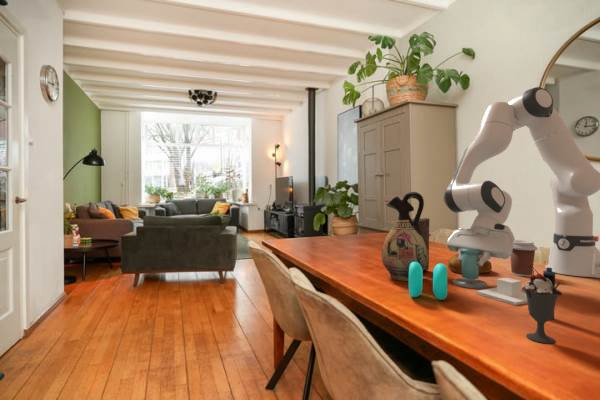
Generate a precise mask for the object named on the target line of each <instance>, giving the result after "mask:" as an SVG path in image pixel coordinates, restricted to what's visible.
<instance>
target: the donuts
mask: <svg viewBox="0 0 600 400" xmlns="http://www.w3.org/2000/svg"><path fill="white" fill-rule="evenodd" d="M423 272H424V271H423V270H422V267H421V265H420V264H419V263H418V262H412V263H411V264H410V266H409V281H408V293H409V295H410V296H411V297H412V298H418V297H420V295H421V294H422V292H423V286H424V285H423V283H424V282H423V280H424V278H423V277H424V276H423V275H424V274H423ZM432 273H433V275H432V292H433V295H434V296H435V298H436V299H438V300H440V301H442V300H445V299H446V298H447V296H448V266H447V265H446V264H444V263H437V264H436V265H435V266H434V267H433V271H432Z"/></svg>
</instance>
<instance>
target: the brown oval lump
mask: <svg viewBox="0 0 600 400" xmlns="http://www.w3.org/2000/svg"><path fill="white" fill-rule="evenodd" d="M458 257H459V253H455V254H454V255H453V256H451V257H450V259H449V260H448V266H447V269H449V270H450V271H452V272H453V273H456V274H462V263H460V262H458V260H457V259H458ZM481 257H483V256H482V255H479V257H478V258H481ZM491 270H492V262H491V261H490V260H487V261H486V262H484V264H483V266H478V274H485V273H486V274H487V273H489V272H490V271H491Z"/></svg>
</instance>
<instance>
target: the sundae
mask: <svg viewBox="0 0 600 400" xmlns="http://www.w3.org/2000/svg"><path fill="white" fill-rule="evenodd" d="M528 266H529V267H530V268H531V267H532V265H528ZM532 268H533V269H532ZM532 268H531V269H532V270H533V272H532V275H531V276H530V277H529V280H528V281H526V282H525V285H524V286H522V290H523V292H526V296H527V302H528V303H527V308H528V313H529V315H530V317H531V318H532V319H533V320H535V322H536V330H535V332H530V333H527V334H526V335H525V336H526V338H527V339H529V340H530V341H532V342H536V343H540V344H547V345H549V344H554V343H556V340H555V339H554V338H553V337H552V336H549V335H548V334H546V332H545V324H546V323H547V322H550V320H553V319H552V317H553V314H554V315H555V308H556V301H557V299H558V297H559V296H562V295H563V292H561V291H560V290H559V289H558V287H559V286H560V284H561V282H560V281H559V282H558V283H557V284H555V288H553V285H552V282H551V281H550V280H549V279H548V278H546V277H543V274H542V273H539V272H538V270H536V269H535V268H534V266H533V267H532ZM534 271H535V272H536V273H537V274H536V275H534V274H535V272H534Z"/></svg>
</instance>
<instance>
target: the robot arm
mask: <svg viewBox="0 0 600 400" xmlns="http://www.w3.org/2000/svg"><path fill="white" fill-rule="evenodd" d="M523 127H527V128H528V129H529V132H530V136H531V138H532V140H533V142H534V144H535V146H536V148H537V150H538V152H539V154H540V156H541V158H542V160H543V161H544V162H545V164H547V165H548V167H549V168H550V170H551V171H552V172H553V173H554V174H553V175H552V177H551V179H550V181H549V182H550V183H549V185H550V188H551V192H552V200H553V207H554V215H555V216H554V217H555V218H554V219H555V221H554V225H555V226H554V234H553V237H552V239H553V240H552V242H553V245H552V246H551V247H550V248H549V257H548V264H545V267H544V268H545V269H547V268H552V272H555V274H561V275H565V276H566V275H567V276H573V277H584V278H585V277H586V278H587V277H588V278H595V279H596V278H597V279H600V249H598V248H597V247H596V242H599V239H600V237H599V236H598V235H593V234H594V233H593V228H594V225H593V224H594V214H593V211H592V210H591V206H590V202H589V198H588V197H589V196H590V197H591V196H593V195H595V194H596V193H597V192H599V191H600V171H598V170H597V169H596V168H595V167H594V166H593V165H592V163H591V162H590V160H589V159H587V157H586V156H585V154H584V153H583V152H582V151H581V150H580V148H579V147H578V145H577V144H576V141H575V139H574V137H573V135H572V134H571V131H570V130H569V128H568V126H567V124H566V122H565V121H564V119H563V118H562V117H561V115H560V114H559V113H558V111H557V110H556V109H555V108H554V99H553V96H552V94H551V92H550V91H548V90H547V89H545V88H543V87H540V86H536V87H533V88H530V89H527V90H526V91H524V92H523V93H520V94H518V95H516V96H514V97H513V98H511V99H510V100H509V101H507V102H505V101H495V102H493V103H491V104H489V105H488V106H487V107H486V109H485V111H484V113H483V115H482V117H481V120H480V122H479V126H478V130H477V132H476V134H475V137H474V139H473V140H472V142H471V143H470V144H469V145H468V146H467V148H465V150H464V152H463V153H462V156H461V158H460V160H459V163H458V165H457V167H456V170H455V172H454V174H453V176H452V180H451V182H450V183H449V184H448V186H447V188H446V189H445V192H444V194H443V201H444V204H445V205H446V207H447V208H448V209H449V210H450V211H451V212H453V213H463V212H464V213H465V212H469V211H470V212H471V211H473V212H474V211H476V213H477V216H476V217H475V219H474V220H473V223H472V224H471V226H470V228H458V229H454V231H453V232H452V234H451V235H450V236H449V238H448V239H447V240H446V243H445V244H446V247H447V248H448V250H449V251H450V252H456V253H457V254H459V257H458V259H457V260H458V262H460V263H462V252H461V249H462V248H469V249H476V250H480V253H479V255H482V256H483V257H481V258H478V259H477V261H476V264H477V265H478V266H483V264H484V262H486V261H487V260H488V261H490V259H491V258H495V259H496V258H497V259H503V260H507V259H509V258H511V257H510V256H511V254H512V251H513V242H514V240H516V239H515V235H514V233H513V232H512V230H511V228H510V227H509V226H508V225H505V223H506V221H507V220H508V217H509V215H510V214H511V213H510V212H511V209H512V206H513V205H512V203H513V198H512V197H511V195H510V194H509V192H507V191H505V190H502V189H501V188H500V187H499V186H498V185H497V184H496V183H495V182H493V181H492V180H482V181H475V182H474V181H473V182H471V180H472V177H473V175H474V171H475V170H476V169H477V168H478V167H479V166H480V165H481V164H482V163H484V162H485V161H487V160H490V159H491V158H494V157H496V156H498V155H500V154H502V153H504V152H505V151H506V150H507V149H508V148H509V146H510V144H511V141H512V139H513V133H514V131H516V130H518V129H521V128H523Z"/></svg>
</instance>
